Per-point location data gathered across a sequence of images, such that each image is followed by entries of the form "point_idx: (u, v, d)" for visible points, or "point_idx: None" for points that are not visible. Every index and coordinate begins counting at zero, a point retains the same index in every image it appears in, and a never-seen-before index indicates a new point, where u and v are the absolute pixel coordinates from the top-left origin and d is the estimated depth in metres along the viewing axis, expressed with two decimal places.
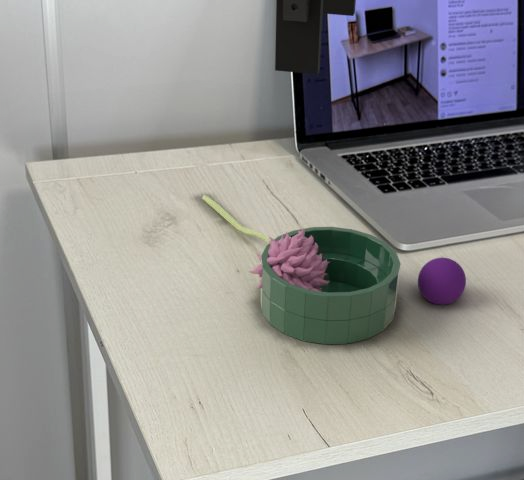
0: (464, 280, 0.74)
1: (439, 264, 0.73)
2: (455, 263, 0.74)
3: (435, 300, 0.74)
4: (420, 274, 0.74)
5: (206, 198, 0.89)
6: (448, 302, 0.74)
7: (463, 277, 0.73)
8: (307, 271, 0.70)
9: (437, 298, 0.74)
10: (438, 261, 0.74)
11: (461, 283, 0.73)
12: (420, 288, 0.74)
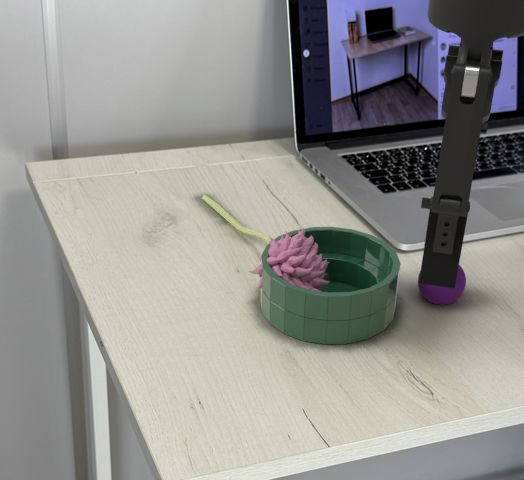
0: (464, 280, 0.74)
1: None
2: None
3: (435, 300, 0.74)
4: None
5: (206, 198, 0.89)
6: (448, 302, 0.74)
7: (463, 277, 0.73)
8: (307, 271, 0.70)
9: (437, 298, 0.74)
10: None
11: (461, 283, 0.73)
12: (420, 288, 0.74)
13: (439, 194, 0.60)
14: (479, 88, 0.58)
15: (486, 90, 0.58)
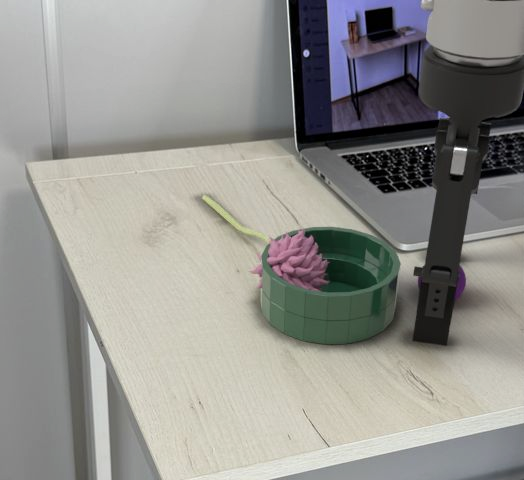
0: (464, 280, 0.74)
1: None
2: None
3: None
4: None
5: (206, 198, 0.89)
6: None
7: (463, 277, 0.73)
8: (307, 271, 0.70)
9: None
10: None
11: (461, 283, 0.73)
12: None
13: (430, 265, 0.63)
14: (467, 167, 0.61)
15: (474, 169, 0.61)
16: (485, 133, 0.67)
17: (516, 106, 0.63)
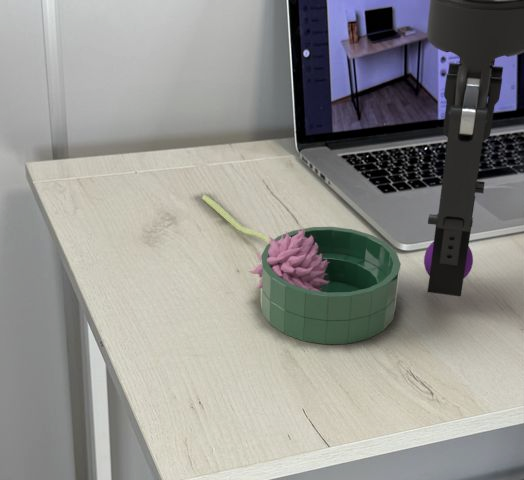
0: (471, 259, 0.72)
1: None
2: None
3: None
4: (426, 253, 0.73)
5: (206, 198, 0.89)
6: None
7: (470, 256, 0.72)
8: (307, 271, 0.70)
9: None
10: None
11: (468, 262, 0.72)
12: (426, 267, 0.73)
13: (443, 217, 0.65)
14: (476, 130, 0.60)
15: (483, 131, 0.60)
16: (497, 72, 0.65)
17: None
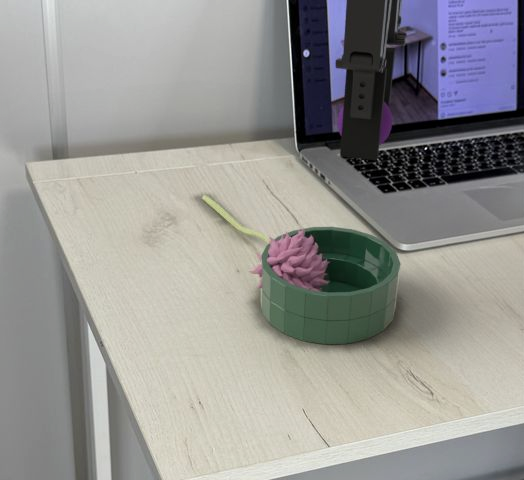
0: (389, 119, 0.64)
1: None
2: None
3: None
4: (340, 113, 0.65)
5: (206, 198, 0.89)
6: None
7: (388, 115, 0.64)
8: (307, 271, 0.70)
9: None
10: None
11: (385, 121, 0.64)
12: (340, 129, 0.65)
13: (349, 52, 0.57)
14: None
15: None
16: None
17: None
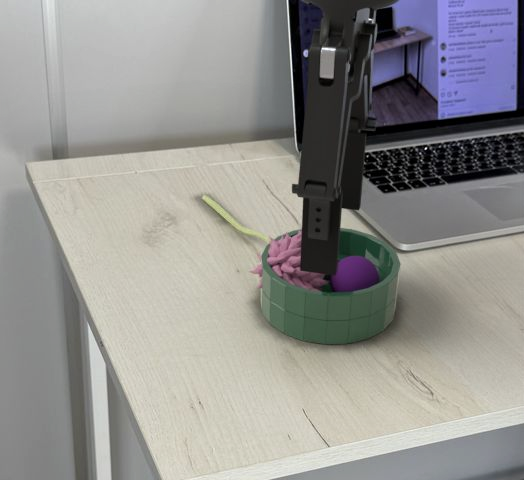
0: None
1: (378, 280, 0.72)
2: None
3: (342, 284, 0.71)
4: (364, 262, 0.71)
5: (206, 198, 0.89)
6: None
7: None
8: None
9: (346, 287, 0.71)
10: (378, 276, 0.72)
11: None
12: (351, 266, 0.71)
13: (304, 180, 0.59)
14: (337, 70, 0.56)
15: (344, 72, 0.56)
16: (370, 32, 0.61)
17: None
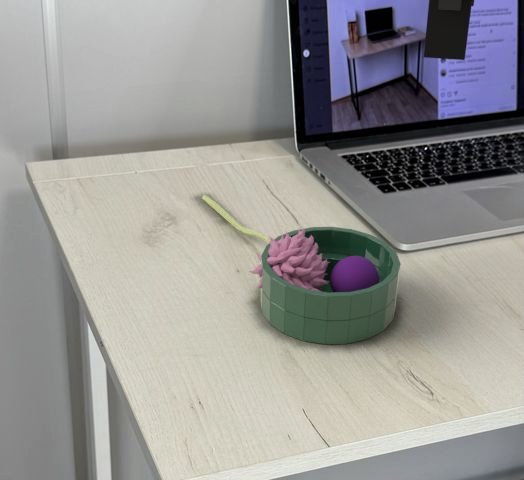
0: None
1: (378, 280, 0.72)
2: None
3: (342, 284, 0.71)
4: (364, 262, 0.71)
5: (206, 198, 0.89)
6: None
7: None
8: (307, 271, 0.70)
9: (346, 287, 0.71)
10: (378, 276, 0.72)
11: None
12: (351, 266, 0.71)
13: None
14: None
15: None
16: None
17: None
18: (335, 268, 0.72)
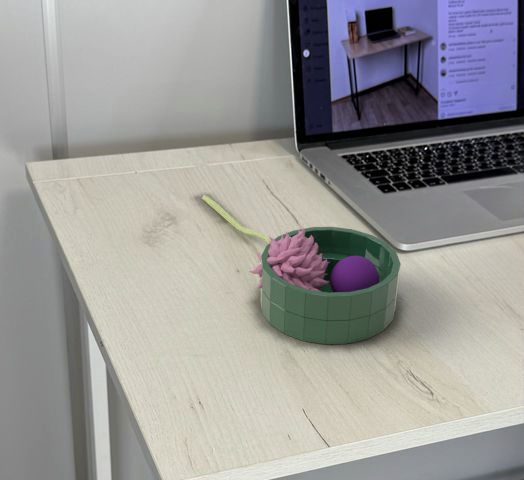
0: None
1: (378, 280, 0.72)
2: None
3: (342, 284, 0.71)
4: (364, 262, 0.71)
5: (206, 198, 0.89)
6: None
7: None
8: (307, 271, 0.70)
9: (346, 287, 0.71)
10: (378, 276, 0.72)
11: None
12: (351, 266, 0.71)
13: None
14: None
15: None
16: None
17: None
18: (335, 268, 0.72)
